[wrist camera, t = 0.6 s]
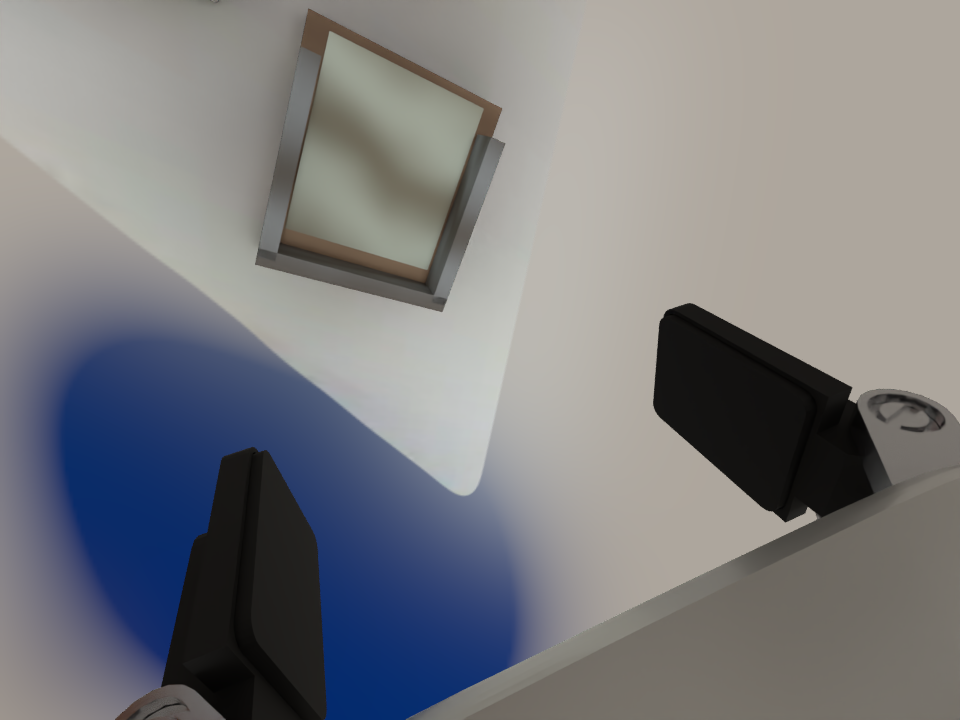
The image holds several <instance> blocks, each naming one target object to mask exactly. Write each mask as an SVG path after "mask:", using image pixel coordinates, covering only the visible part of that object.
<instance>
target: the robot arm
mask: <svg viewBox="0 0 960 720" xmlns="http://www.w3.org/2000/svg"><path fill="white" fill-rule="evenodd" d="M851 390H852V387H851V386H848V385H847V384H845V383H843V382H841V381H839V380H837V379H835V378H833V377H831V376H830V375H828V374H826V373H824V372H822V371H820V370H818V369H816V368H814V367H812V366H811V365H809V364H807V363H805V362H803V361H801V360H799V359H797V358H795V357H793V356H792V355H790V354H788V353H786V352H784V351H782V350H780V349H778V348H776V347H774V346H772V345H771V344H769V343H767V342H765V341H763V340H761V339H759V338H757V337H755V336H754V335H752V334H750V333H748V332H746V331H744V330H742V329H740V328H738V327H736V326H734V325H732V324H731V323H728V322H727V321H725V320H723V319H721V318H719V317H717V316H715V315H714V314H712V313H710V312H708V311H706V310H704V309H702V308H700V307H698V306H696V305H695V304H691V303H688V304H684V305H681V306H678V307H675V308H673V309H669V310H667V311H666V312H665V314H664V317H663V318H662V319H661V321H660V324H659V335H658V348H657V362H656V374H655V387H654V399H653V406H654V409H655V411H656V413H657V415H658V416H659V417H660V418H661V419H662V420H663V421H665V422H666V423H667V424H668V425H669V426H670V427H671V428H673V429H674V430H675V431H676V432H677V433H678V434H679V435H680V436H682V437H683V438H684V439H685V440H686V441H687V442H688V443H690V444H691V445H692V446H693V447H694V448H695V449H697V451H699V452H700V453H701V454H702V455H703V456H704V457H705V458H707V459H708V460H709V461H710V462H711V463H712V464H713V465H714V466H716V467H717V468H718V469H719V470H720V471H721V472H722V473H724V474H725V475H726V476H727V477H728V478H729V479H730V480H731V481H733V482H734V483H735V484H736V485H737V486H738V487H739V488H741V489H742V490H743V491H744V492H745V493H746V494H747V495H749V496H750V497H751V498H752V499H753V500H754V501H756V502H757V503H758V504H759V505H760V506H761V507H762V508H764V509H765V510H768V511H773V512H774V513H775V514H776V515H778V516H779V517H780V518H781V519H782V520H783V521H784V522H787V521H790V520H792V519H794V518H796V517H798V516H800V515H803V514H804V513H805V512H806V510H807V507H809V508H810V509H812V510H813V511H814V512H815V513H816V516H817V520H816V521H814V522H812V523H809V524H808V525H806V526H803V527H801V528H799V529H797V530H795V531H793V532H791V533H788V534H786V535H784V536H782V537H780V538H778V539H776V540H774V541H772V542H769V543H767V544H765V545H763V546H761V547H759V548H757V549H755V550H753V551H751V552H749V553H746V554H744V555H742V556H740V557H738V558H736V559H734V560H731V561H730V562H727V563H725V564H723V565H721V566H719V567H717V568H715V569H713V570H711V571H709V572H706V573H704V574H702V575H700V576H698V577H696V578H694V579H692V580H690V581H688V582H686V583H684V584H681V585H679V586H677V587H675V588H673V589H671V590H669V591H667V592H665V593H663V594H661V595H659V596H657V597H655V598H652V599H650V600H648V601H646V602H644V603H642V604H640V605H638V606H636V607H634V608H632V609H630V610H627V611H625V612H623V613H621V614H619V615H617V616H615V617H613V618H611V619H609V620H607V621H605V622H603V623H601V624H598V625H596V626H594V627H592V628H590V629H588V630H586V631H584V632H582V633H580V634H578V635H576V636H574V637H572V638H570V639H568V640H566V641H564V642H562V643H559V644H557V645H555V646H553V647H551V648H549V649H547V650H545V651H543V652H541V653H539V654H537V655H535V656H533V657H531V658H529V659H527V660H525V661H523V662H521V663H519V664H516V665H514V666H513V667H511V668H508V669H506V670H504V671H502V672H500V673H498V674H496V675H494V676H492V677H490V678H488V679H486V680H484V681H481V682H479V683H477V684H475V685H473V686H471V687H469V688H467V689H465V690H463V691H461V692H459V693H457V694H455V695H453V696H451V697H449V698H448V699H445V700H443V701H441V702H439V703H438V704H436V705H434V706H432V707H430V708H428V709H426V710H424V711H422V712H420V713H418V714H416V715H414V716H412V717H410V718H408V719H406V720H960V424H959V422H958V421H957V419H956V418H955V417H954V415H953V414H951V412H950V411H948V409H946V408H945V407H944V406H942V405H940V404H939V403H937V402H935V401H933V400H931V399H929V398H926V397H924V396H922V395H918V394H915V393H911V392H908V391H902V390H895V389H876V390H871V391H868V392H865V393H864V394H862V395H861V396H860V397H859V399H858V400H857V403H854V402H852V401H850V400H848V398H849V395H850V393H851ZM318 566H319V565H318V549H317V542H316V539H315V535H314V533H313V531H312V529H311V527H310V525H309V524H308V522H307V520H306V518H305V517H304V515H303V513H302V511H301V510H300V508H299V506H298V504H297V502H296V500H295V498H294V497H293V495H292V493H291V491H290V489H289V488H288V486H287V484H286V482H285V480H284V479H283V477H282V475H281V473H280V471H279V470H278V468H277V466H276V464H275V462H274V461H273V459H272V457H271V455H270V454H269V452H268V451H267V450H264V451H261V452H258V451H257V449H255V448H254V447H251V448H248V449H245V450H242V451H239V452H236V453H233V454H230V455H227V456H224V457H223V458H222V460H221V465H220V469H219V475H218V480H217V485H216V490H215V495H214V500H213V506H212V511H211V516H210V522H209V527H208V532H207V533H205V534H202V535H199V536H198V537H197V538H196V539H195V540H194V543H193V546H192V549H191V554H190V558H189V563H188V567H187V572H186V577H185V581H184V585H183V590H182V595H181V599H180V604H179V608H178V613H177V617H176V622H175V626H174V631H173V636H172V640H171V645H170V649H169V654H168V658H167V663H166V667H165V672H164V677H163V681H162V686H161V688H158V689H155V690H153V691H151V692H150V693H148V694H146V695H144V696H143V697H141V698H140V699H138V700H136V701H135V702H134V703H132V704H131V705H130V706H129V707H128V708H127V709H126V710H125V711H124V712H122V713H121V714H120V715H119V716H118V717H117V718H116V719H115V720H324V719H325V717H326V690H325V671H324V654H323V637H322V620H321V619H322V618H321V602H320V583H319V567H318Z"/></svg>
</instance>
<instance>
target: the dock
mask: <svg viewBox="0 0 960 720" xmlns="http://www.w3.org/2000/svg"><path fill="white" fill-rule="evenodd" d="M501 111H502V108H500V107H498V106H496V105H494V104H492V103H490V102H488V101H486V100H485V99H483V98H481V97H479V96H477V95H475V94H473V93H471V92H469V91H467V90H465V89H463V88H461V87H459V86H457V85H456V84H454V83H452V82H450V81H448V80H446V79H444V78H442V77H440V76H438V75H436V74H434V73H432V72H430V71H428V70H426V69H425V68H423V67H421V66H419V65H417V64H415V63H413V62H411V61H409V60H407V59H405V58H403V57H401V56H399V55H397V54H396V53H394V52H392V51H390V50H388V49H386V48H384V47H382V46H380V45H378V44H376V43H374V42H372V41H370V40H368V39H367V38H365V37H363V36H361V35H359V34H357V33H355V32H353V31H351V30H349V29H347V28H345V27H343V26H341V25H339V24H337V23H336V22H334V21H332V20H330V19H328V18H326V17H324V16H322V15H320V14H318V13H316V12H314V11H312V10H310V9H308V13H307V18H306V23H305V28H304V33H303V37H302V42H301V47H300V52H299V56H298V61H297V66H296V71H295V76H294V80H293V85H292V90H291V95H290V100H289V104H288V109H287V114H286V119H285V124H284V128H283V133H282V138H281V143H280V148H279V152H278V157H277V162H276V167H275V172H274V176H273V181H272V186H271V191H270V196H269V201H268V205H267V210H266V215H265V220H264V225H263V229H262V234H261V239H260V244H259V249H258V253H257V258H256V263H255V265H259V266H263V267H267V268H271V269H275V270H279V271H283V272H287V273H291V274H294V275H298V276H302V277H306V278H310V279H314V280H318V281H322V282H326V283H330V284H334V285H338V286H342V287H346V288H350V289H354V290H358V291H361V292H365V293H369V294H373V295H377V296H381V297H385V298H389V299H393V300H397V301H401V302H405V303H409V304H413V305H417V306H421V307H425V308H428V309H432V310H436V311H440V312H443V309H444V306H445V304H446V301H447V298H448V296H449V293H450V290H451V288H452V285H453V282H454V280H455V277H456V274H457V271H458V269H459V266H460V263H461V261H462V258H463V255H464V253H465V250H466V247H467V245H468V242H469V239H470V237H471V234H472V231H473V229H474V226H475V223H476V221H477V218H478V215H479V213H480V210H481V207H482V205H483V202H484V199H485V196H486V194H487V191H488V188H489V186H490V183H491V180H492V178H493V175H494V172H495V170H496V167H497V164H498V162H499V159H500V156H501V154H502V151H503V148H504V146H505V143H503V142H501V141H499V140H496V139H494V138H492V136H493V133H494V130H495V127H496V124H497V122H498V119H499V116H500V113H501Z"/></svg>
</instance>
